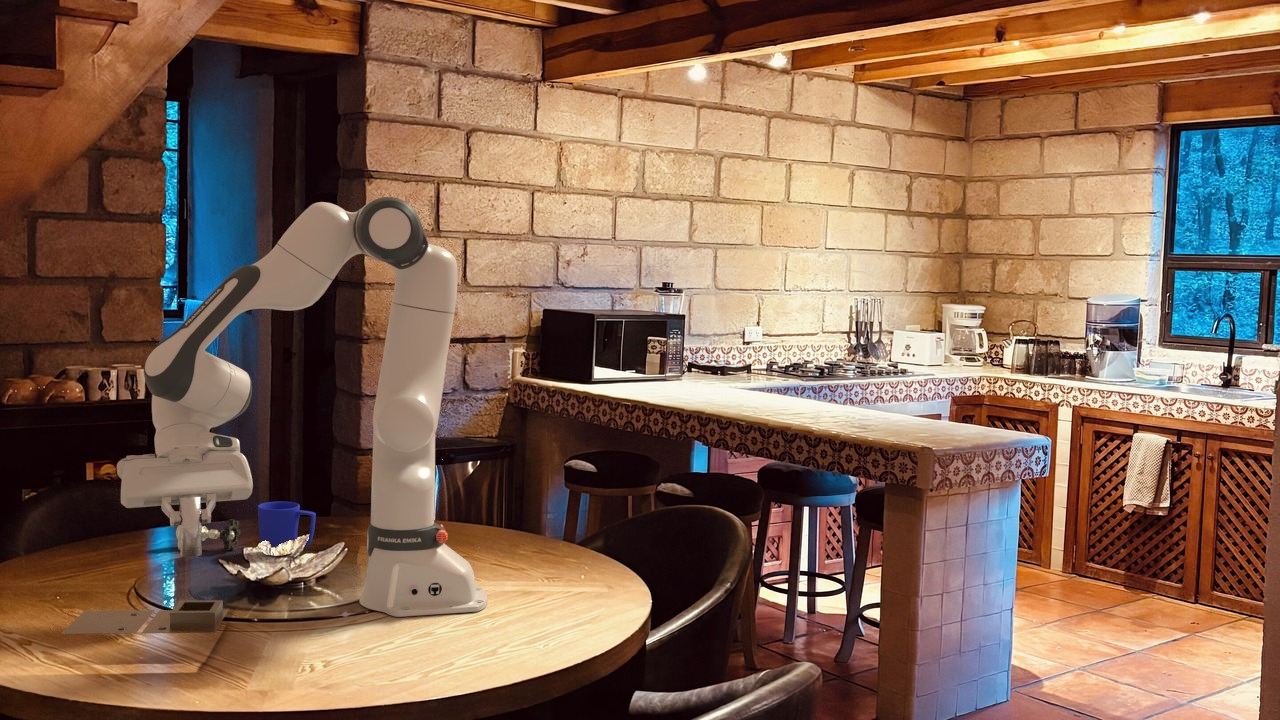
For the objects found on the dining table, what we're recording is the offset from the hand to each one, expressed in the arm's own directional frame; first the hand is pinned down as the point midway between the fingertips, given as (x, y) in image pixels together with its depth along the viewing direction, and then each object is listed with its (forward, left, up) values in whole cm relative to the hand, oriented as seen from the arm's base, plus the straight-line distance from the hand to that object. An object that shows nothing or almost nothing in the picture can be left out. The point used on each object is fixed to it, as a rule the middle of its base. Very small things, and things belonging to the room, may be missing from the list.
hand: (191, 522), depth 189 cm
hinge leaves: (+7, -1, -18) cm, 19 cm away
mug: (-9, -49, -18) cm, 52 cm away
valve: (+8, -53, -18) cm, 57 cm away
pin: (0, -1, -5) cm, 5 cm away
